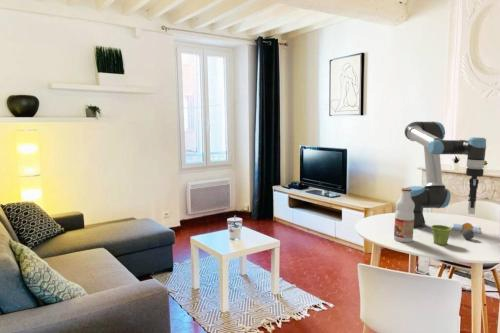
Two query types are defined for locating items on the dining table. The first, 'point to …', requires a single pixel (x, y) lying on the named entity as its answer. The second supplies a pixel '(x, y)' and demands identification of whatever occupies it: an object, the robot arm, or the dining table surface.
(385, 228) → the dining table surface
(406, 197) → the fruit juice
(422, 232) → the dining table surface
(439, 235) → the plant pot
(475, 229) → the mark
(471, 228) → the ball
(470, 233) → the ball
